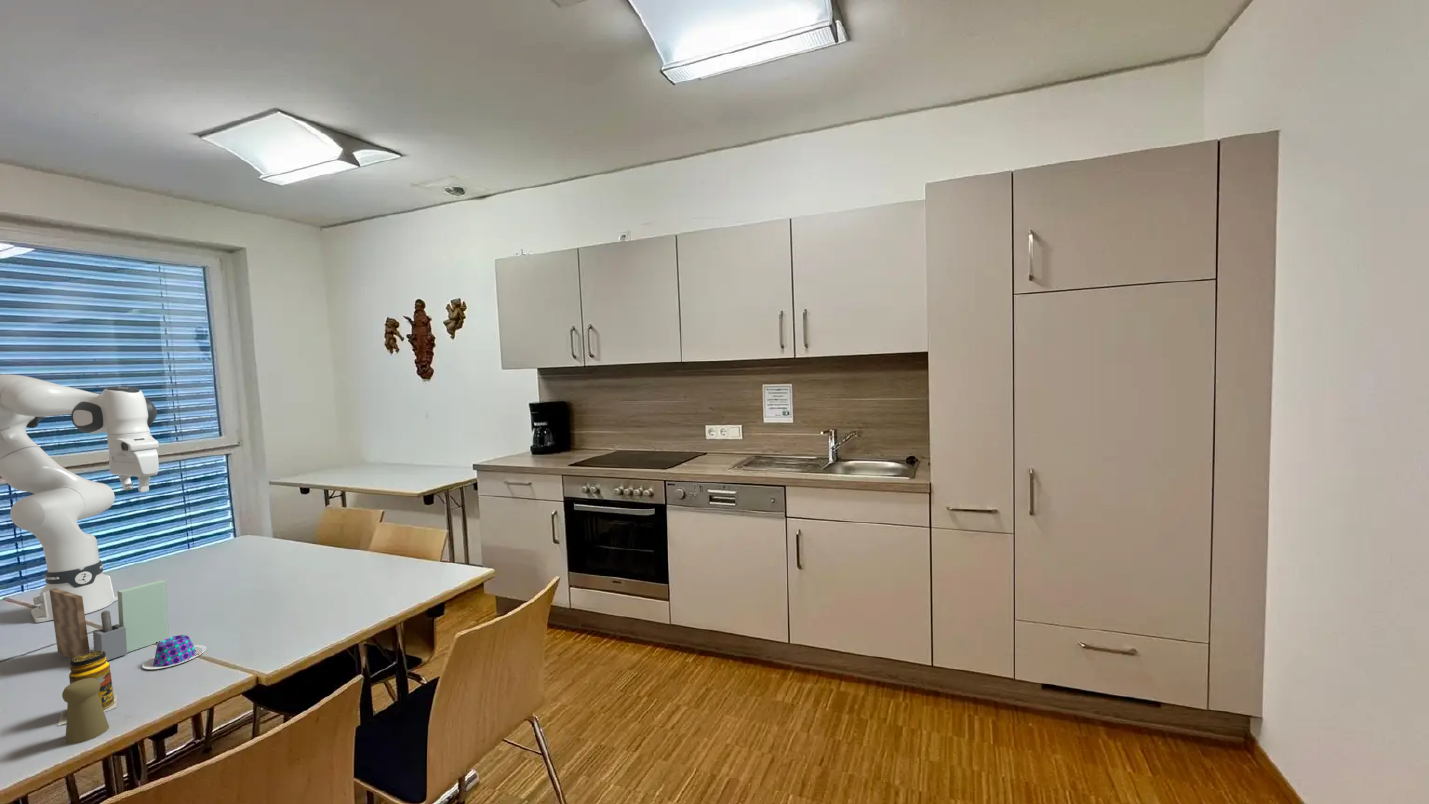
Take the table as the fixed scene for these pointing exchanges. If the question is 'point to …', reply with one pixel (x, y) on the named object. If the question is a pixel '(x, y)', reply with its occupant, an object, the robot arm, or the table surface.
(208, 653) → the table surface
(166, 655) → the purple domed brimmed piece
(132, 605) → the door
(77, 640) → the cabinet side
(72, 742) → the cork
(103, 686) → the condiment
